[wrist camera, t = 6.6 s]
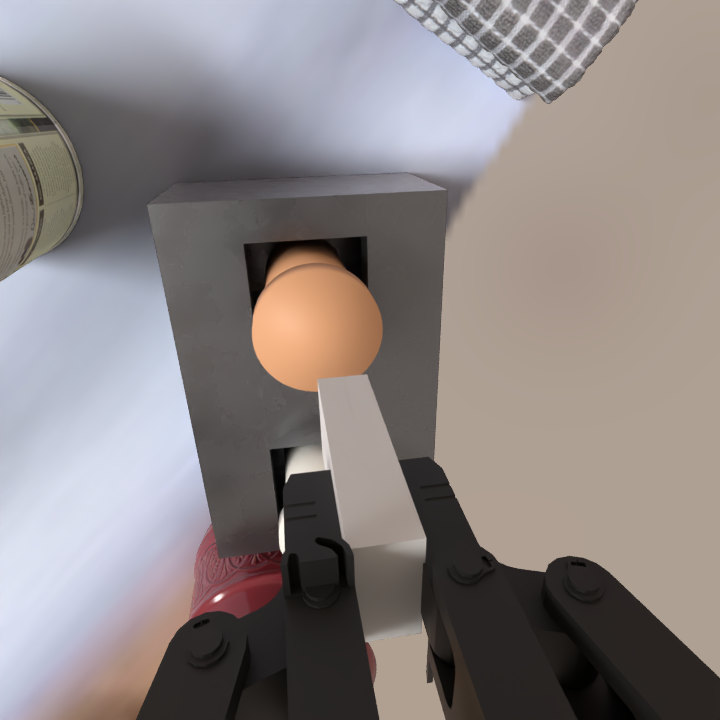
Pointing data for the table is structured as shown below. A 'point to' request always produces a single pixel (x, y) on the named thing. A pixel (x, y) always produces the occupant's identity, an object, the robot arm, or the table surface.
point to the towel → (525, 38)
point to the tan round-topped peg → (313, 317)
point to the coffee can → (34, 180)
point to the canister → (239, 583)
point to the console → (235, 317)
